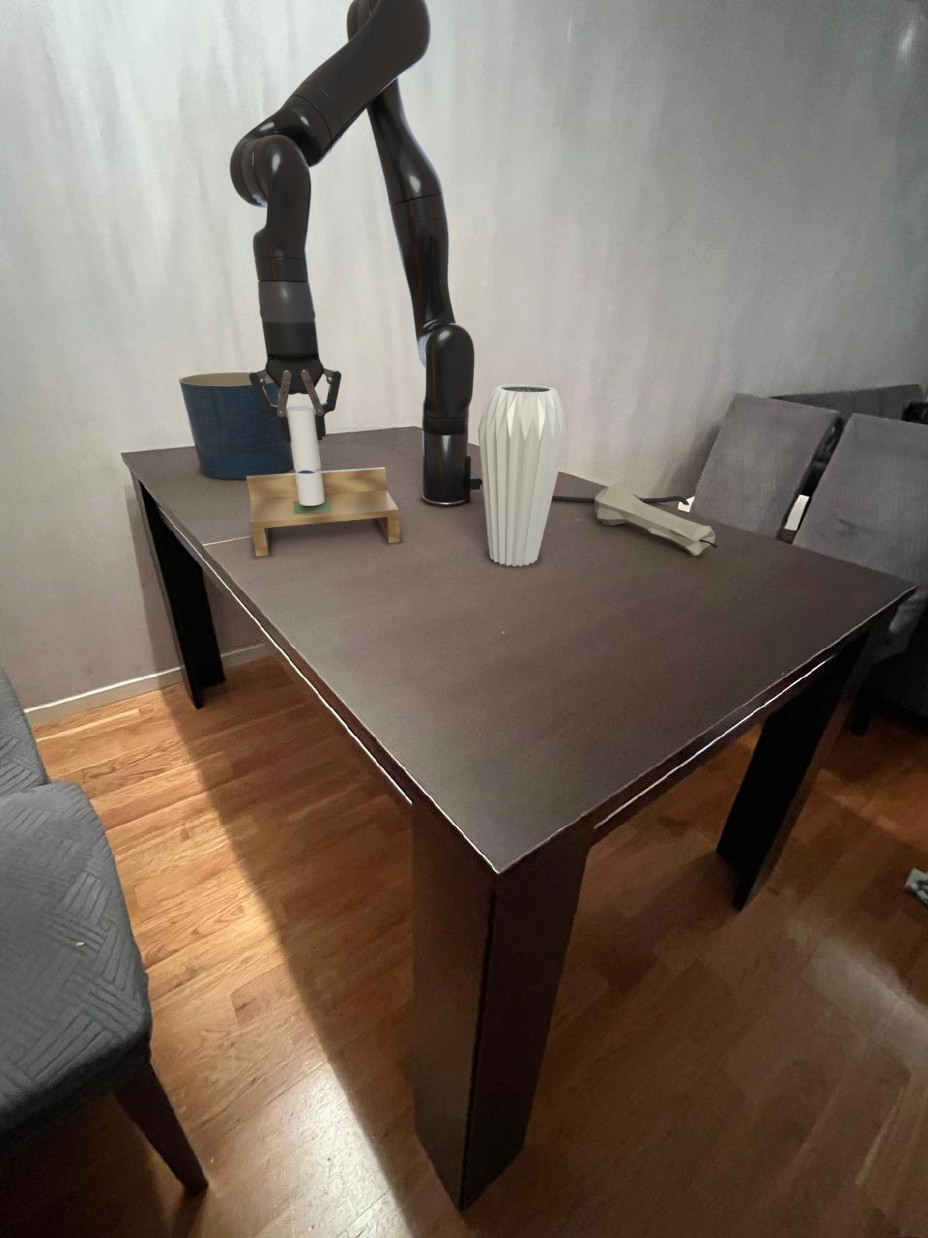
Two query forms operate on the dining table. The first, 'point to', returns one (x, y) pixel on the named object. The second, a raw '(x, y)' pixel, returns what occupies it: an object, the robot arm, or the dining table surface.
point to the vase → (520, 467)
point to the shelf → (344, 501)
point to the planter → (234, 426)
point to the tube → (305, 455)
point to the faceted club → (651, 519)
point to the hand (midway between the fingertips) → (303, 439)
